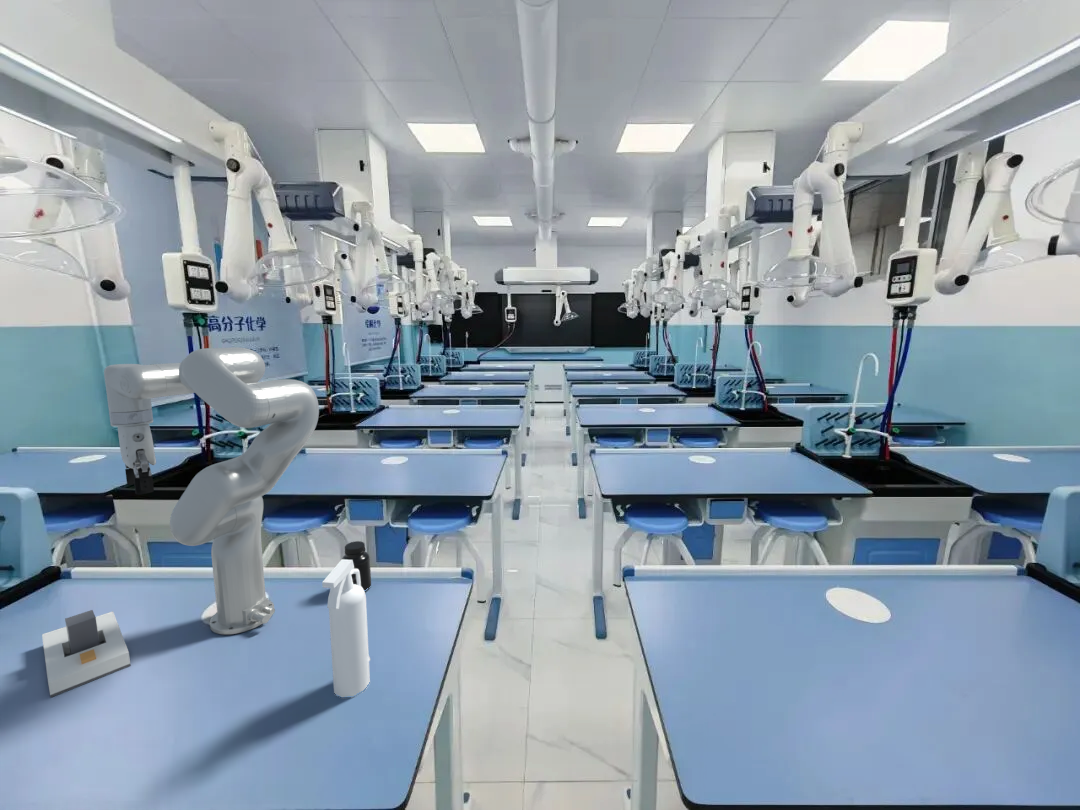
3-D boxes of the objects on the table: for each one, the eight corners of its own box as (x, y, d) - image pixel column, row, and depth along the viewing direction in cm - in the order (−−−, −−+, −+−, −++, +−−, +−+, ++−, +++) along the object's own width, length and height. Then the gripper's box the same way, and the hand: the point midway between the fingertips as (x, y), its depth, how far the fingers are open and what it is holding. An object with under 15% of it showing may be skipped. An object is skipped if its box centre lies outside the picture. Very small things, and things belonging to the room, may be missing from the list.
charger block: (100, 653, 95) (95, 617, 94) (73, 664, 92) (67, 626, 91) (97, 644, 98) (92, 609, 97) (70, 654, 95) (64, 618, 93)
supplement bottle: (348, 581, 124) (345, 539, 123) (374, 581, 125) (372, 538, 123) (339, 596, 118) (336, 551, 116) (367, 595, 118) (365, 550, 116)
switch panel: (130, 665, 93) (128, 649, 92) (50, 697, 84) (47, 679, 84) (114, 623, 106) (112, 608, 105) (44, 647, 98) (41, 631, 97)
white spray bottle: (386, 659, 95) (376, 545, 90) (356, 709, 83) (343, 580, 78) (355, 657, 96) (343, 544, 91) (321, 705, 84) (306, 578, 79)
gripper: (161, 420, 106) (169, 493, 109) (144, 411, 117) (151, 477, 120) (117, 425, 100) (127, 501, 103) (103, 414, 111) (112, 484, 114)
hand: (140, 488), depth 111 cm, fingers open, 9 cm apart
